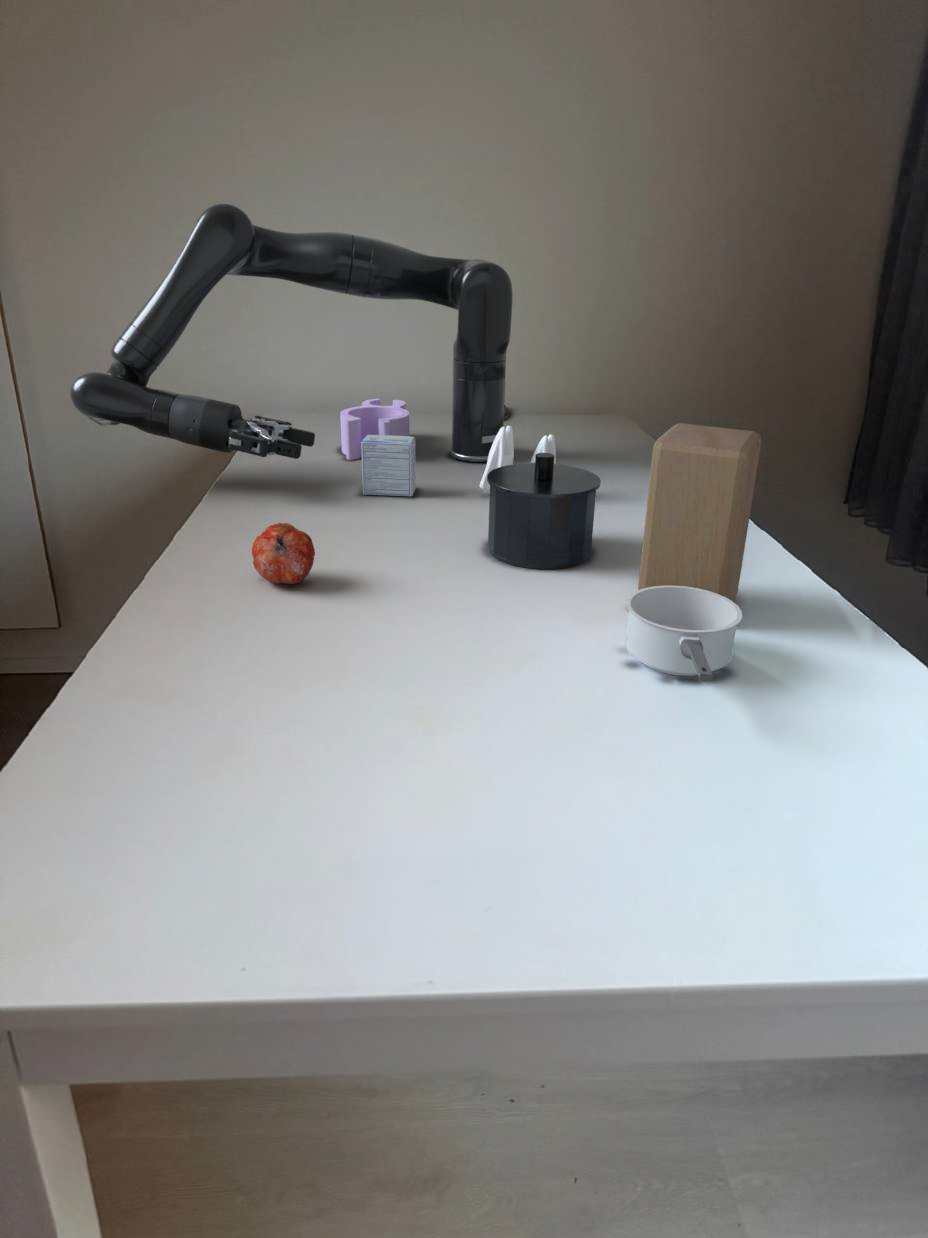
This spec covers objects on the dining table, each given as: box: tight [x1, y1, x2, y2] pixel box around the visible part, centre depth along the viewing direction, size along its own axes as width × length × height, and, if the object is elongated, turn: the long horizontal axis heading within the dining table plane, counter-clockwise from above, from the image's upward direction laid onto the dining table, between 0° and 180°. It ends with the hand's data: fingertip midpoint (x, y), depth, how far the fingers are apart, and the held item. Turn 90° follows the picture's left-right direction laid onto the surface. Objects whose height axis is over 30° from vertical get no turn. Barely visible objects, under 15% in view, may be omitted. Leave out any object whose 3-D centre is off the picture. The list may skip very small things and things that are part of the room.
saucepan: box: [625, 586, 743, 683], centre depth 88 cm, size 12×20×6 cm, turn 175°
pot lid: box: [487, 453, 601, 498], centre depth 116 cm, size 15×15×4 cm
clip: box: [339, 398, 410, 461], centre depth 168 cm, size 20×12×7 cm, turn 174°
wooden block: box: [637, 422, 762, 602], centre depth 101 cm, size 10×10×20 cm
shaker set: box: [479, 425, 557, 495], centre depth 141 cm, size 12×4×11 cm, turn 93°
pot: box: [487, 485, 597, 570], centre depth 119 cm, size 14×14×10 cm
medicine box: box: [361, 435, 417, 497], centre depth 142 cm, size 8×4×9 cm, turn 84°
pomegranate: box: [251, 522, 316, 585], centre depth 109 cm, size 7×7×10 cm
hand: (307, 445), depth 140 cm, fingers open, 8 cm apart
